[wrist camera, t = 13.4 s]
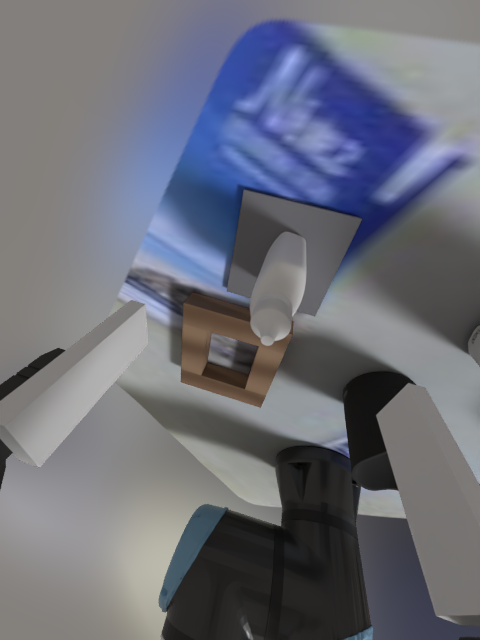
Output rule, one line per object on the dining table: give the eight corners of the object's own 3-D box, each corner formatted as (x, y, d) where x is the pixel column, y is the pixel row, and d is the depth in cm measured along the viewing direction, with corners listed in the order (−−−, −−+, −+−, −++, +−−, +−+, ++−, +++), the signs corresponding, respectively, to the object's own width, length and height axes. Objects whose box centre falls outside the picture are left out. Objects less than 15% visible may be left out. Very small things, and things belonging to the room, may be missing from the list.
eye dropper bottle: (322, 259, 21) (338, 344, 11) (275, 293, 24) (256, 382, 14) (293, 222, 19) (282, 281, 10) (247, 262, 22) (205, 337, 13)
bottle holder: (263, 393, 35) (260, 407, 33) (187, 369, 35) (180, 382, 34) (293, 321, 26) (292, 334, 24) (192, 292, 27) (183, 302, 25)
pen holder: (381, 355, 26) (416, 441, 18) (441, 394, 27) (498, 491, 19) (324, 392, 31) (331, 470, 24) (376, 423, 33) (399, 507, 25)
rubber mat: (314, 313, 25) (314, 316, 24) (228, 288, 25) (226, 291, 25) (360, 217, 19) (362, 219, 18) (245, 189, 19) (243, 189, 19)
